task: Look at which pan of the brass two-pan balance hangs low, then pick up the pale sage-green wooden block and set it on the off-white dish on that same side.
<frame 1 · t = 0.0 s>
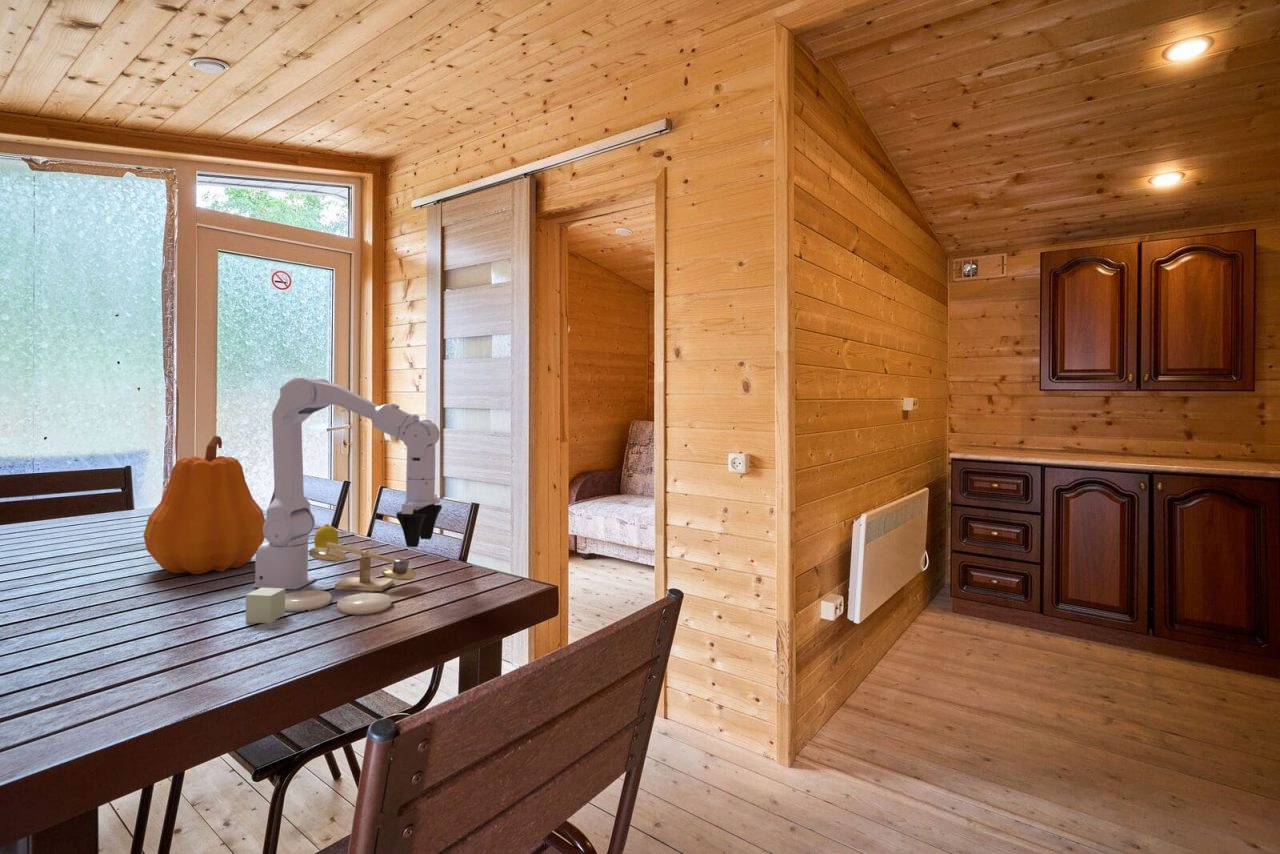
hand: (419, 542, 139), 10 cm above the table, tool pointing down, fingers open, 7 cm apart
balance beam: (364, 557, 141), point 6 cm above the table, hinge at 12.0°
lemon: (326, 556, 166), on the table
dish left: (303, 603, 128), on the table
decorative pumpkin: (207, 568, 152), on the table
balance stand: (364, 586, 141), on the table
block: (265, 618, 120), on the table
dish right: (364, 606, 128), on the table
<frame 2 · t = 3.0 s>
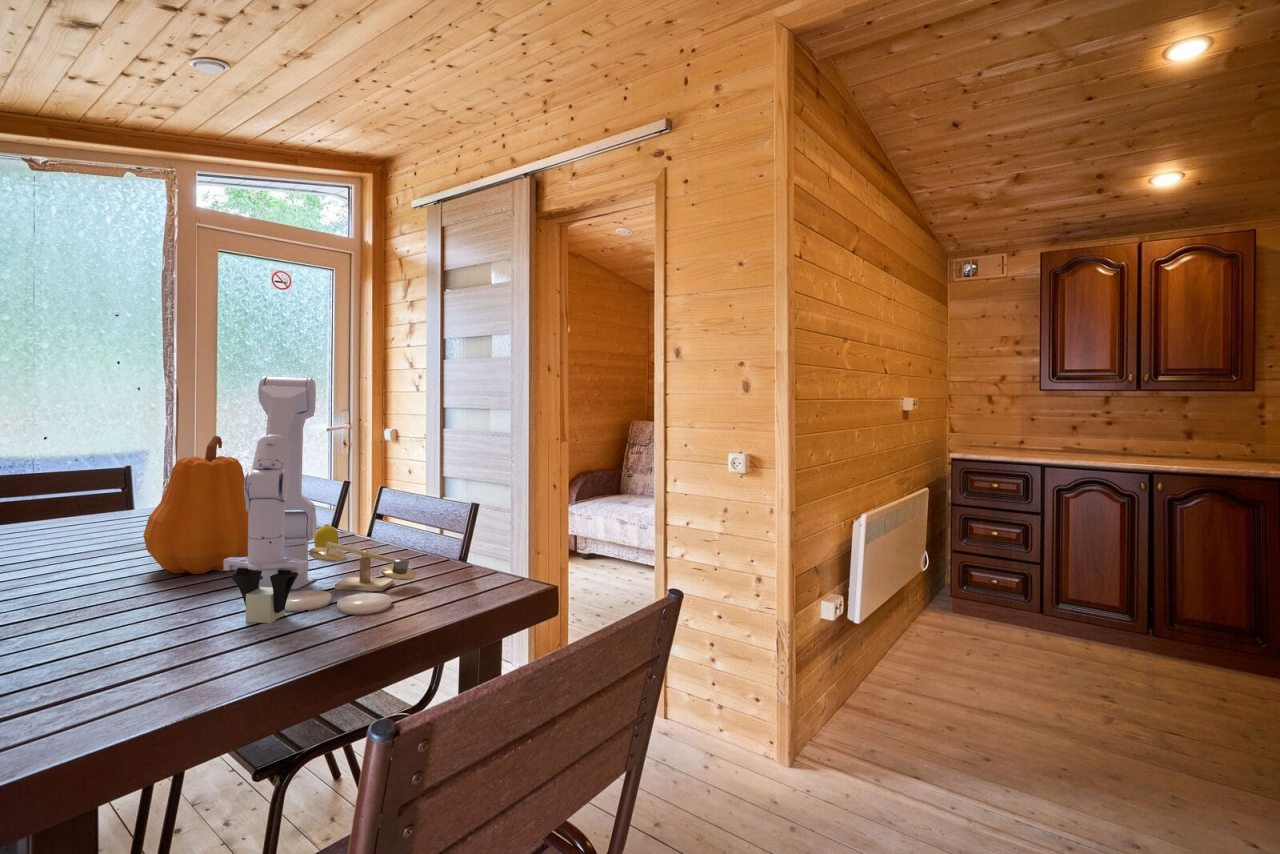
hand: (265, 610, 120), 1 cm above the table, tool pointing down, fingers closed on block, 4 cm apart
block: (265, 618, 120), on the table, touching gripper
everything else where it was.
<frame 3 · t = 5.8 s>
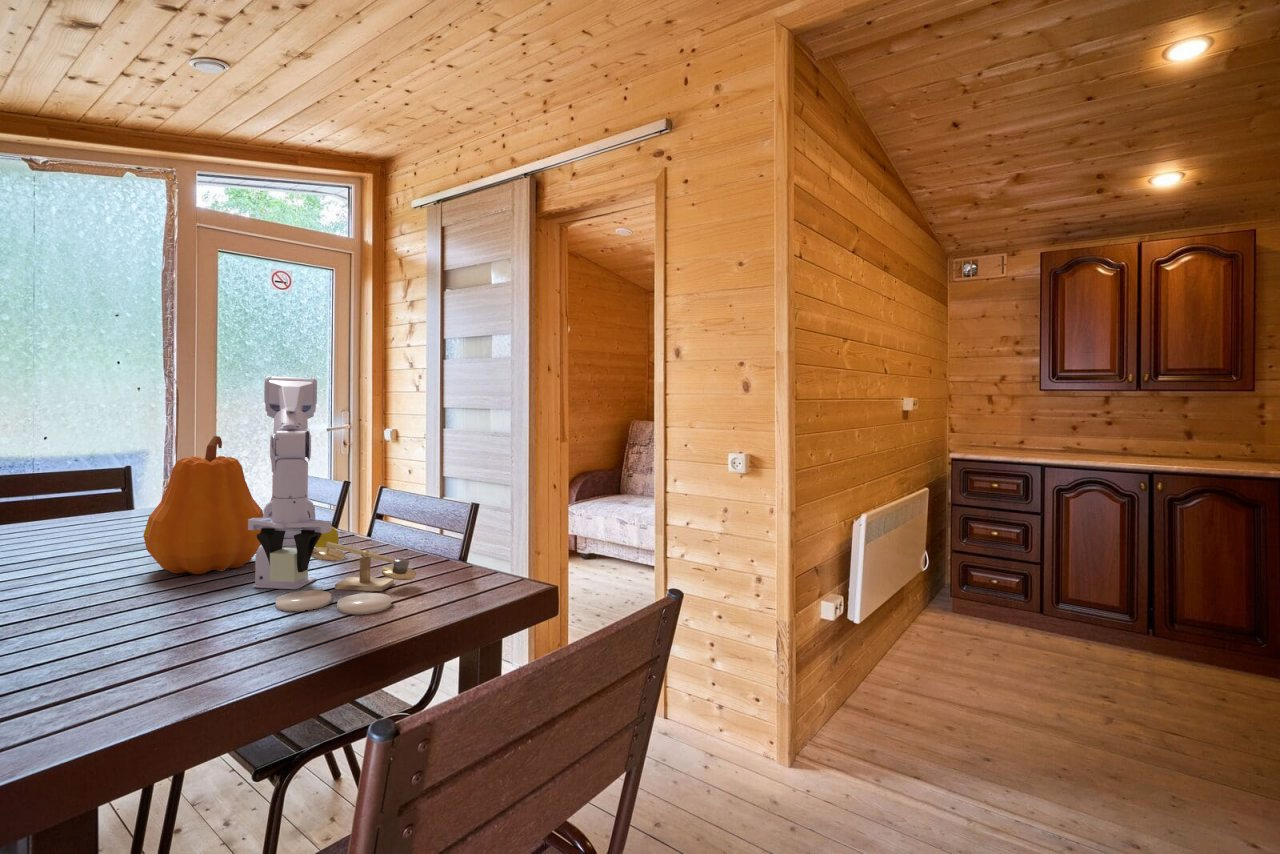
hand: (289, 570, 121), 8 cm above the table, tool pointing down, fingers closed on block, 4 cm apart
block: (289, 578, 121), point 7 cm above the table, touching gripper
everything else where it was.
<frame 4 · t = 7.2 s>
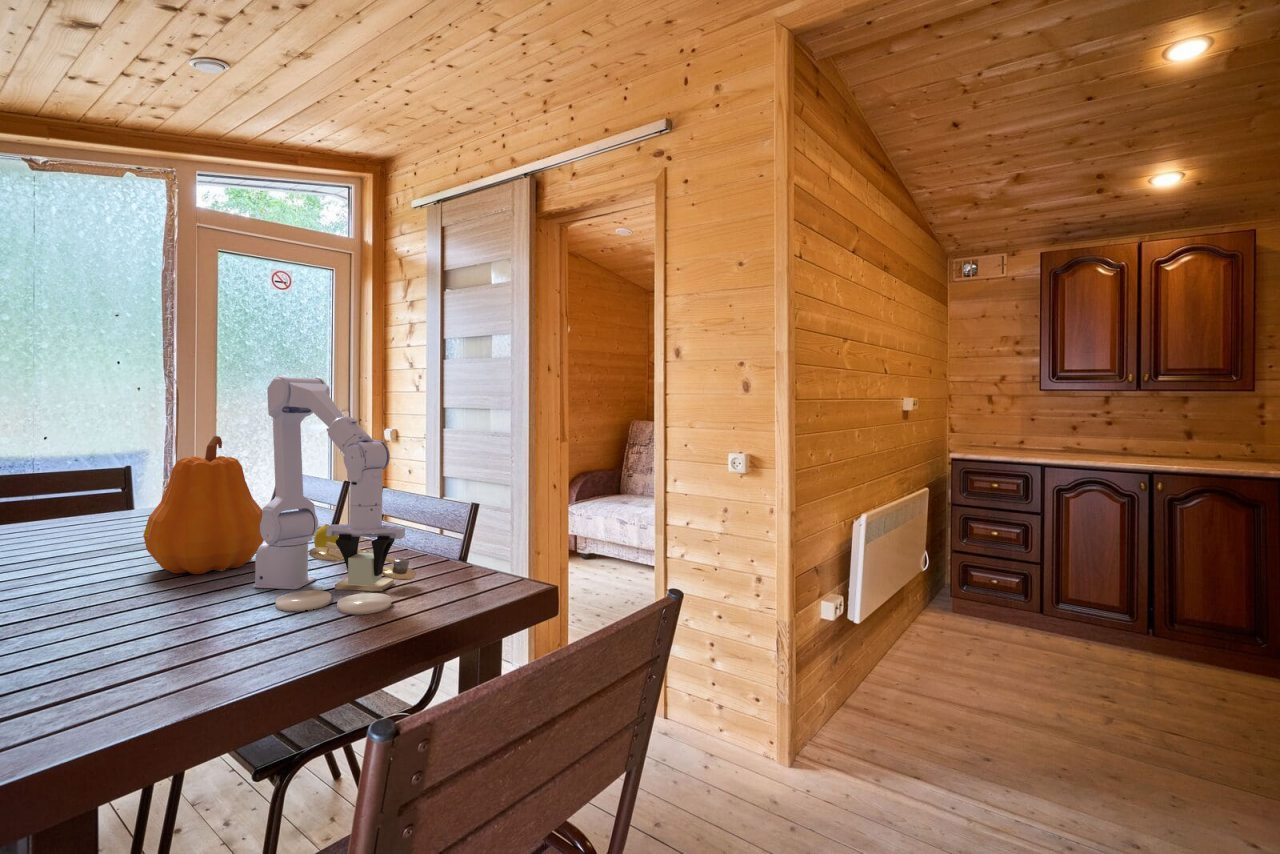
hand: (365, 574, 128), 6 cm above the table, tool pointing down, fingers closed on block, 4 cm apart
block: (365, 581, 128), point 5 cm above the table, touching gripper
everything else where it was.
when the fingers open (3 cm above the table, at t = 8.5 s): block stays where it is, resting on dish right.
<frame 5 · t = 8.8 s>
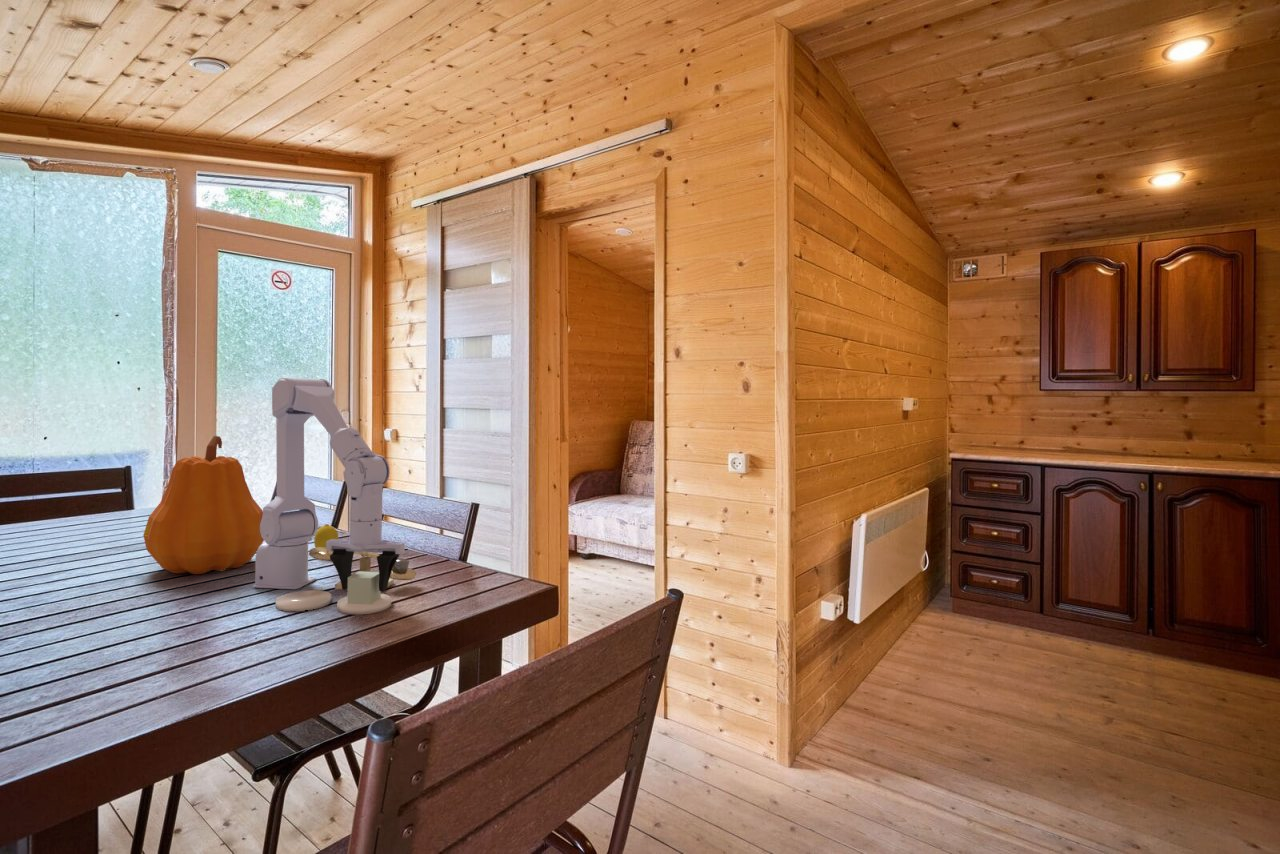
hand: (364, 589, 128), 3 cm above the table, tool pointing down, fingers open, 7 cm apart
block: (364, 600, 128), point 1 cm above the table, touching dish right
everything else where it was.
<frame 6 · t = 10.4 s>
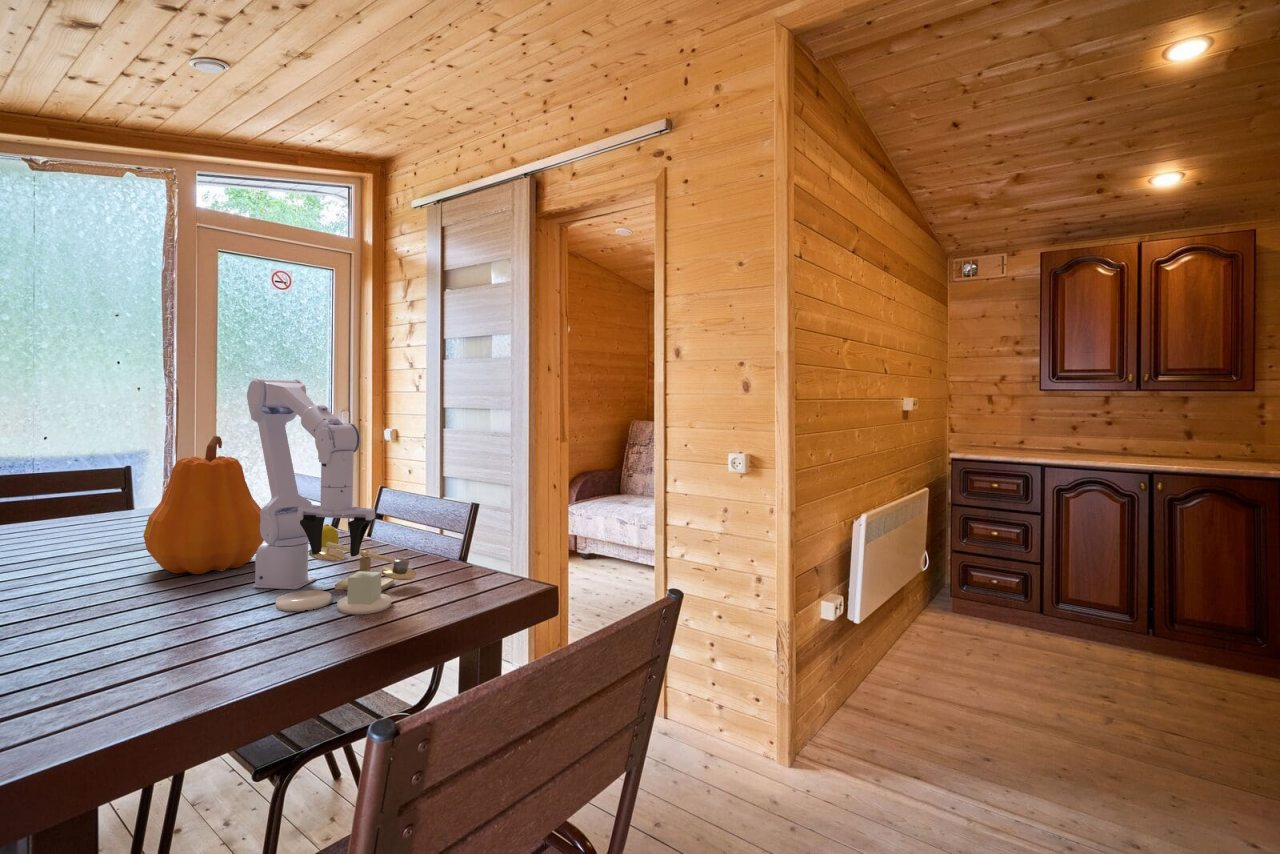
hand: (335, 554, 130), 9 cm above the table, tool pointing down, fingers open, 7 cm apart
nothing on the table moved.
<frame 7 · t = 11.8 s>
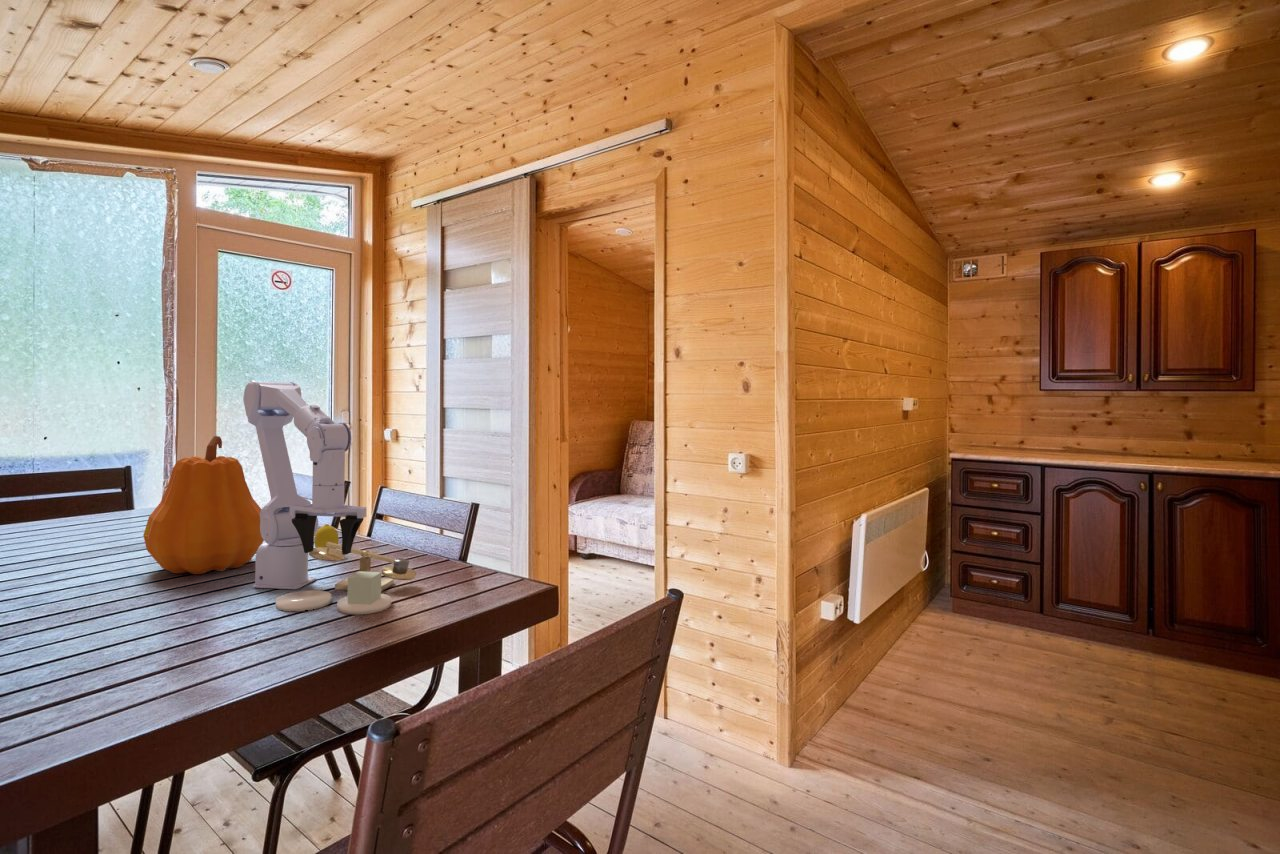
hand: (327, 552, 131), 9 cm above the table, tool pointing down, fingers open, 7 cm apart
nothing on the table moved.
at the end: block inside the target area on the dish right (0.1 cm from its centre), point 1.2 cm above the dish right's base; the gripper is holding nothing; block moved 16.6 cm from its start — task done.
